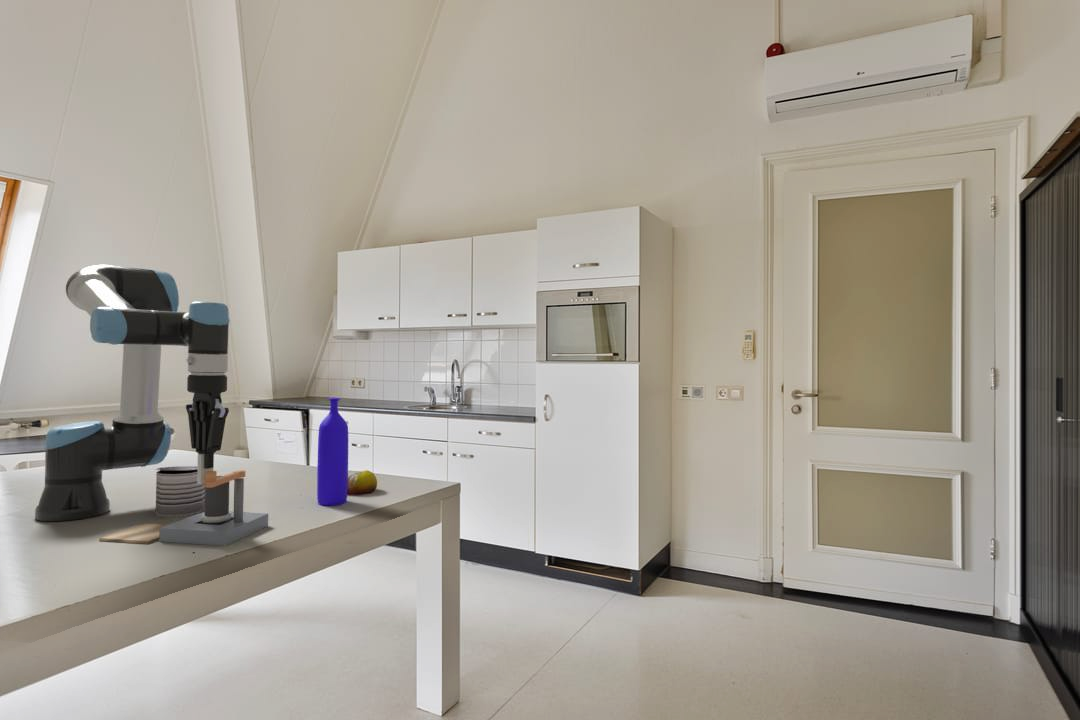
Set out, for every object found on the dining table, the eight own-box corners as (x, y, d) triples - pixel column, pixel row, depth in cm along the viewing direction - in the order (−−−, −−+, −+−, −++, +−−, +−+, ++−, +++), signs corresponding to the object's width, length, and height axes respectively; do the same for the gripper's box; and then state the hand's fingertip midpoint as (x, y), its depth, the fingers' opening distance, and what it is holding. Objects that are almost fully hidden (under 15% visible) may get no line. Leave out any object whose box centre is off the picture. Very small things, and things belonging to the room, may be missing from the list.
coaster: (99, 540, 132) (99, 537, 132) (142, 525, 144) (142, 523, 144) (148, 543, 130) (148, 541, 130) (187, 528, 142) (187, 526, 142)
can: (144, 514, 154) (145, 468, 154) (184, 504, 165) (185, 461, 165) (176, 519, 150) (177, 471, 151) (215, 508, 161) (216, 464, 161)
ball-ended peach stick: (214, 487, 126) (214, 472, 126) (202, 487, 126) (202, 472, 126) (247, 475, 140) (247, 462, 140) (236, 475, 140) (237, 461, 140)
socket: (159, 541, 132) (160, 483, 132) (208, 522, 148) (209, 470, 148) (225, 545, 130) (226, 486, 130) (268, 525, 146) (269, 472, 146)
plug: (194, 536, 136) (195, 479, 136) (213, 528, 143) (214, 474, 143) (219, 537, 136) (220, 481, 136) (237, 530, 142) (238, 475, 142)
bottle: (337, 507, 165) (339, 399, 165) (310, 505, 167) (312, 398, 167) (352, 500, 173) (354, 397, 173) (327, 498, 175) (329, 396, 175)
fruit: (360, 485, 193) (366, 462, 192) (380, 499, 187) (386, 475, 186) (331, 490, 184) (336, 466, 182) (351, 505, 178) (357, 480, 177)
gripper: (174, 372, 128) (171, 481, 129) (206, 375, 121) (203, 490, 122) (209, 372, 135) (206, 476, 135) (241, 375, 128) (238, 484, 128)
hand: (205, 482), depth 128 cm, fingers closed
